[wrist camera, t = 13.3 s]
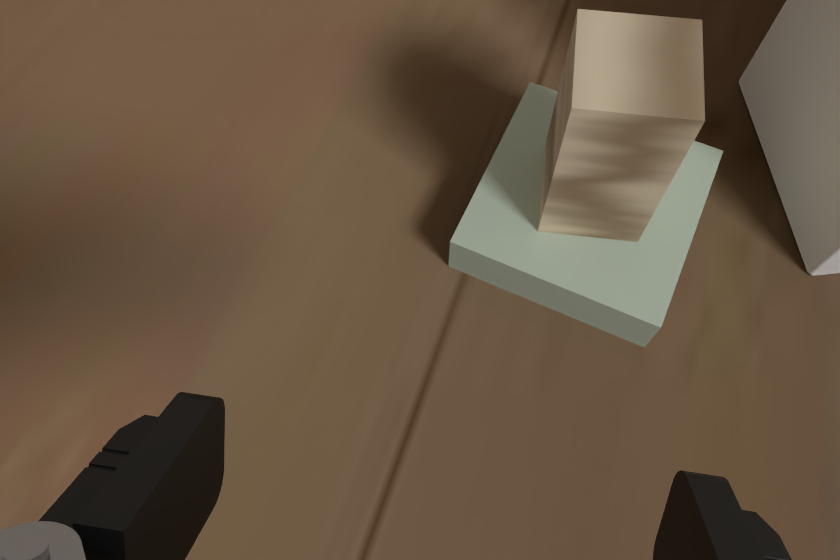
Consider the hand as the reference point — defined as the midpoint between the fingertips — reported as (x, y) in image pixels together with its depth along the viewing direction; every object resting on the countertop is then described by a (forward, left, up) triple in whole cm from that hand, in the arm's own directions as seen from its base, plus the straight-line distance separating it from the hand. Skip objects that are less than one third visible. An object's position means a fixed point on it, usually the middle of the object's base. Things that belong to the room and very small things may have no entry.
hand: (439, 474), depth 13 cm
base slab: (0, +19, -23) cm, 30 cm away
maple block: (0, +19, -20) cm, 27 cm away
